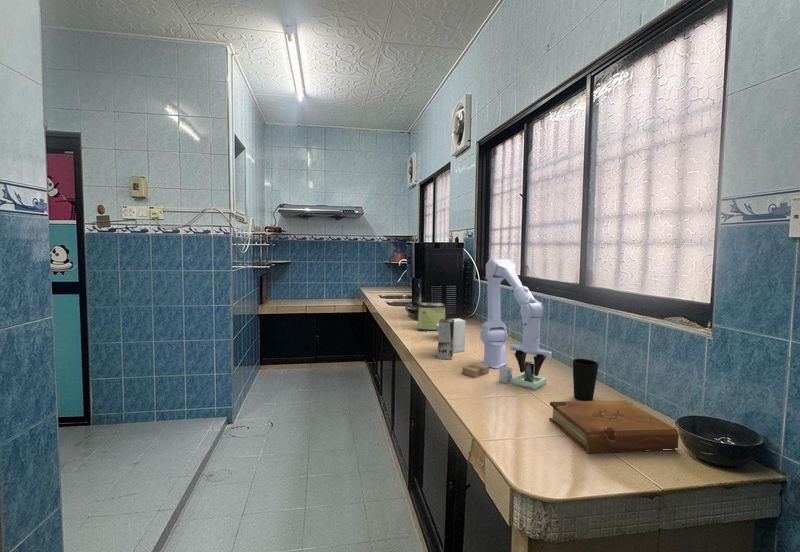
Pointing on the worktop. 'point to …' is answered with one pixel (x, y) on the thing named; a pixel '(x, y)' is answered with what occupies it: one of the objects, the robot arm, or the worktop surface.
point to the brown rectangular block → (475, 370)
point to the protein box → (430, 315)
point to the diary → (612, 426)
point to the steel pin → (529, 371)
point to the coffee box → (445, 339)
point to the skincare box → (459, 335)
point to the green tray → (535, 385)
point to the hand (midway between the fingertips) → (529, 373)
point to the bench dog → (505, 374)
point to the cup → (584, 378)
